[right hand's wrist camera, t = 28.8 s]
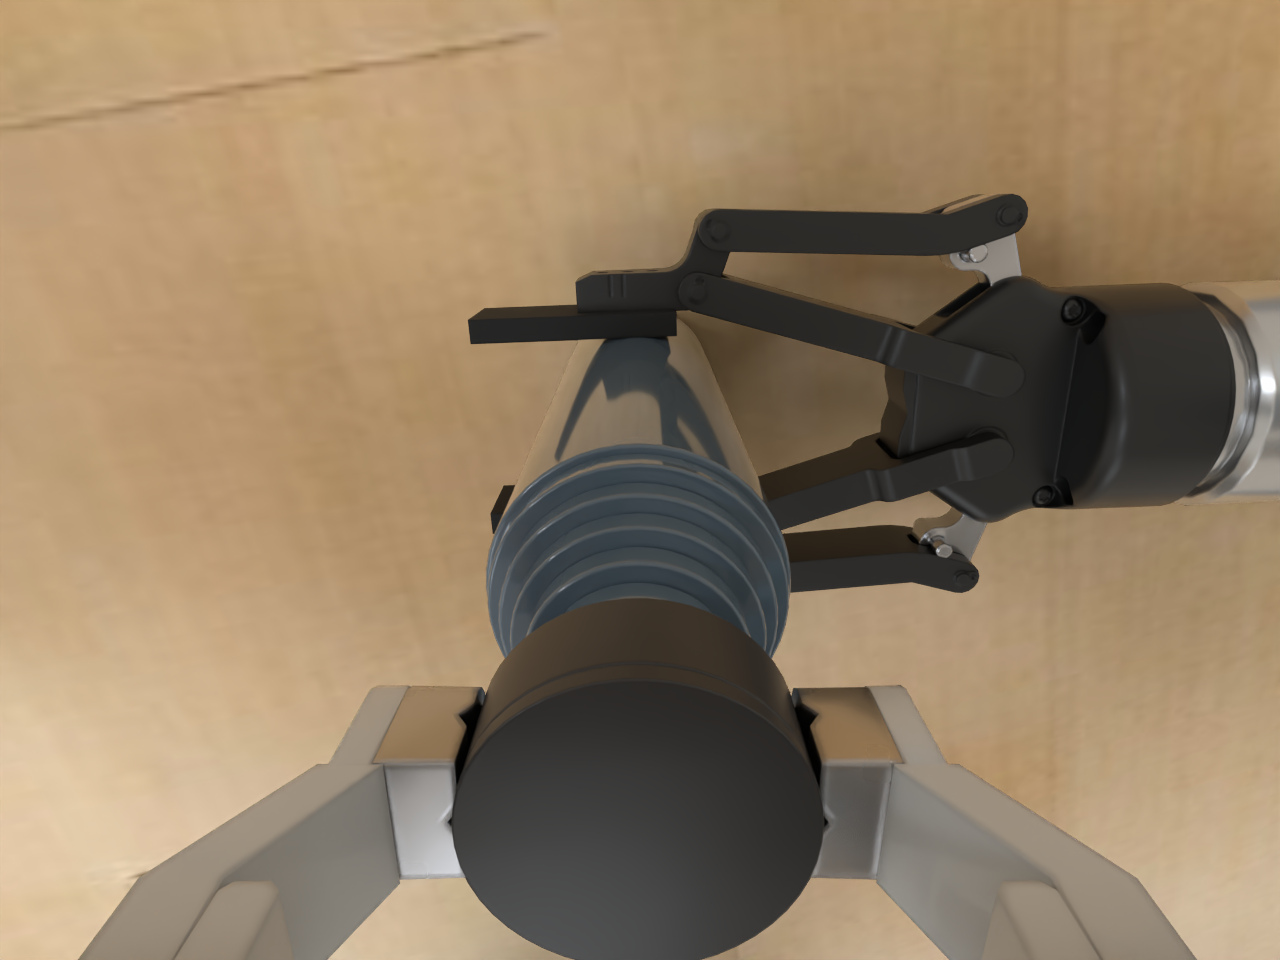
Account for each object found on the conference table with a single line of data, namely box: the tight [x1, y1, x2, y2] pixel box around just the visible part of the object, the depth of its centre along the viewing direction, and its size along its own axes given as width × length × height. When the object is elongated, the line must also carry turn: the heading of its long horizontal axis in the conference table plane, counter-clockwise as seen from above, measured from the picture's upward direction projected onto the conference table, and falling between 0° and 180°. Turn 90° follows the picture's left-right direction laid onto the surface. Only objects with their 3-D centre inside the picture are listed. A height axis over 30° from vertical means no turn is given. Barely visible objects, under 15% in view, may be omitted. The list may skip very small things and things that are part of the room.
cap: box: [451, 598, 824, 960], centre depth 10 cm, size 4×4×2 cm
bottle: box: [486, 318, 791, 659], centre depth 21 cm, size 6×6×24 cm
